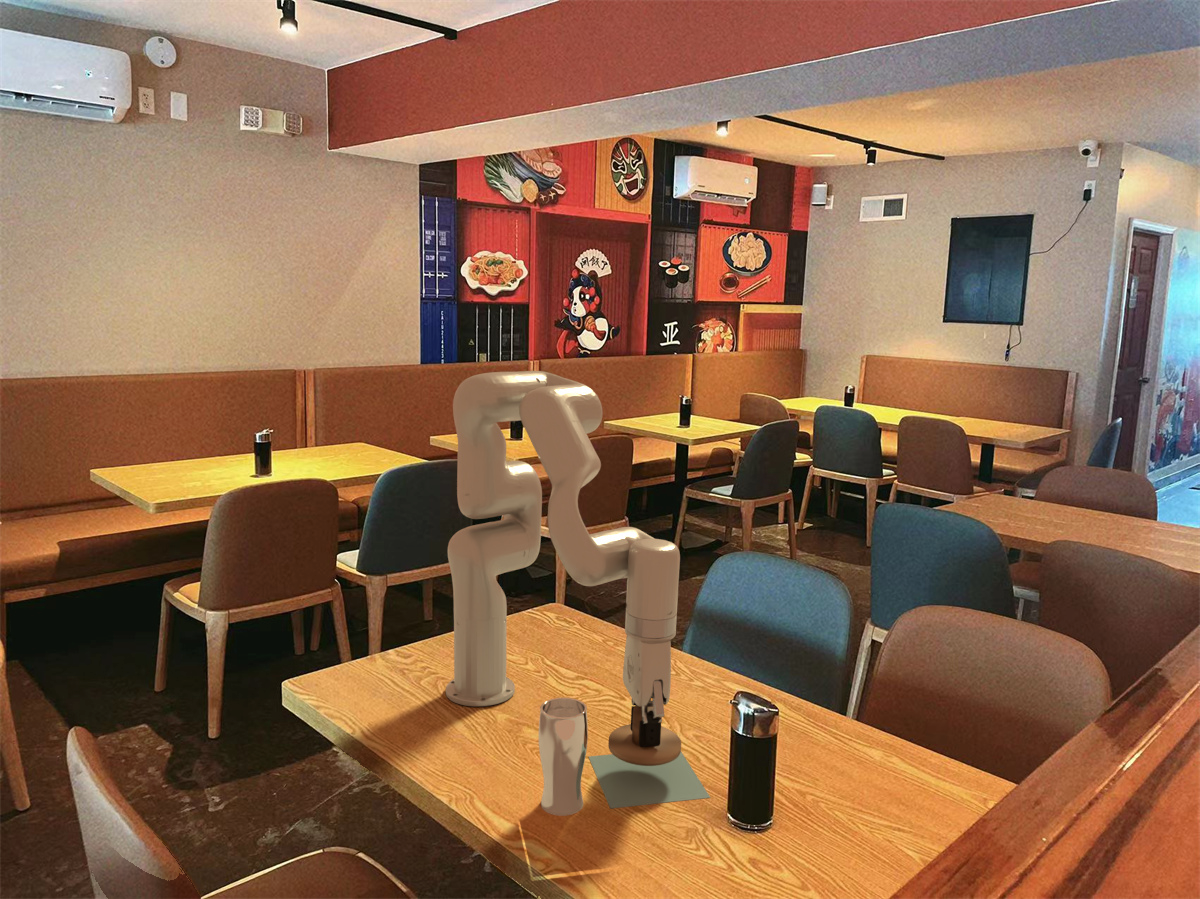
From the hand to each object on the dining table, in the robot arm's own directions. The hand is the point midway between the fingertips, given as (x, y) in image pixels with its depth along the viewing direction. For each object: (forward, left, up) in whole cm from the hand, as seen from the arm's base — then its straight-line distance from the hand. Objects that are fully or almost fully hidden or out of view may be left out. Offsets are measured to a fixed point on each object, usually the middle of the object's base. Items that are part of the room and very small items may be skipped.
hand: (645, 736), depth 135 cm
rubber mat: (+1, 0, -6) cm, 7 cm away
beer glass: (+6, -14, -7) cm, 16 cm away
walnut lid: (0, 0, -2) cm, 2 cm away
